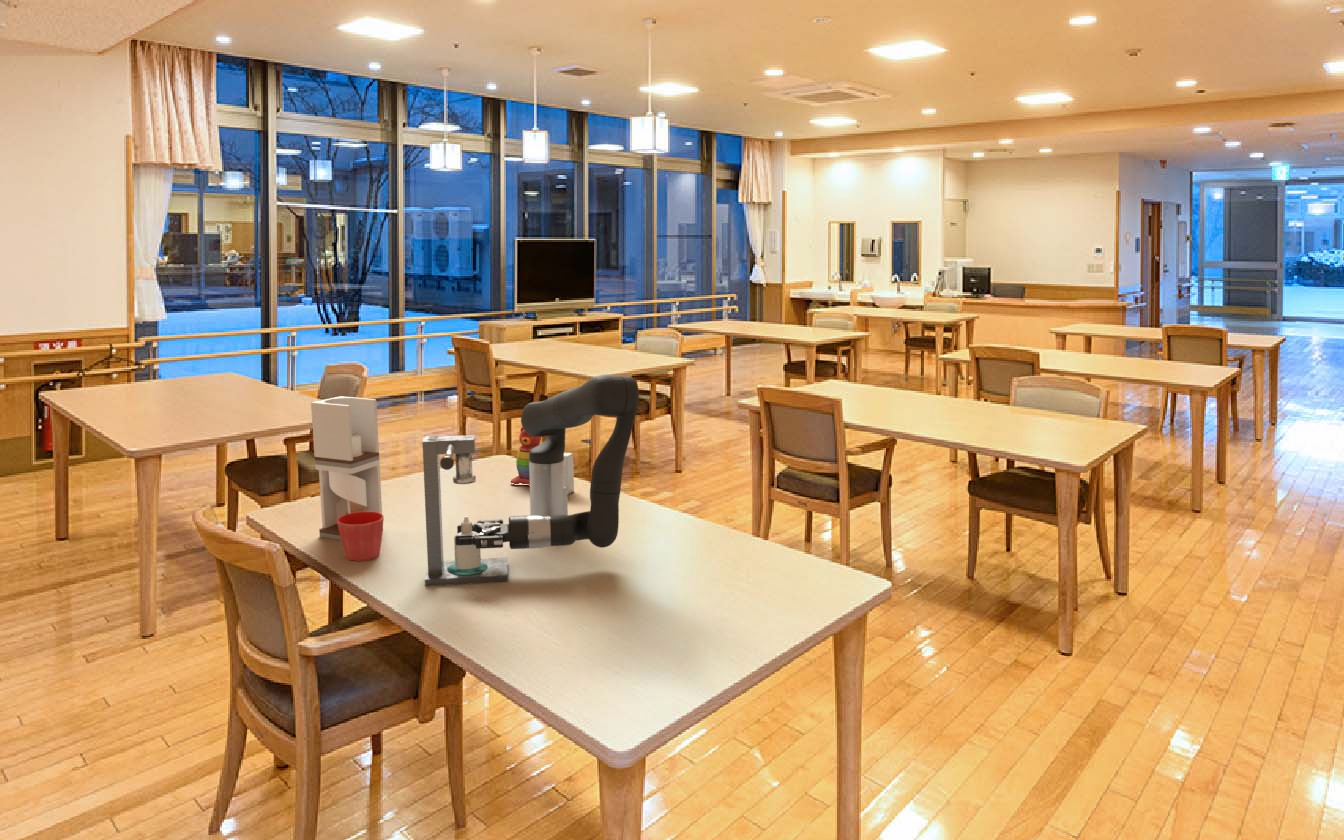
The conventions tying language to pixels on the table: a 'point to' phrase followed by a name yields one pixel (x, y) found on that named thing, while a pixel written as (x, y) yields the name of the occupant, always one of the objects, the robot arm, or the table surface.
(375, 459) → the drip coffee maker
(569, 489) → the skincare box
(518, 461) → the stacking bear
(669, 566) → the table surface
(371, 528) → the flower pot
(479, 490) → the table surface
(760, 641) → the table surface
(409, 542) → the table surface
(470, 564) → the eye dropper bottle
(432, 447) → the arbor press
